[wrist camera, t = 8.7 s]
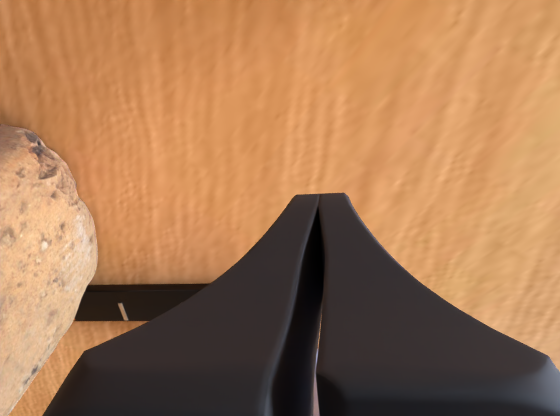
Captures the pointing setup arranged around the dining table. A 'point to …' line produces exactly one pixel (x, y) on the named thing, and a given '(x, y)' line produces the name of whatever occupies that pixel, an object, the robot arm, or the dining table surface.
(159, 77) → the dining table surface
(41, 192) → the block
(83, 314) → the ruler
